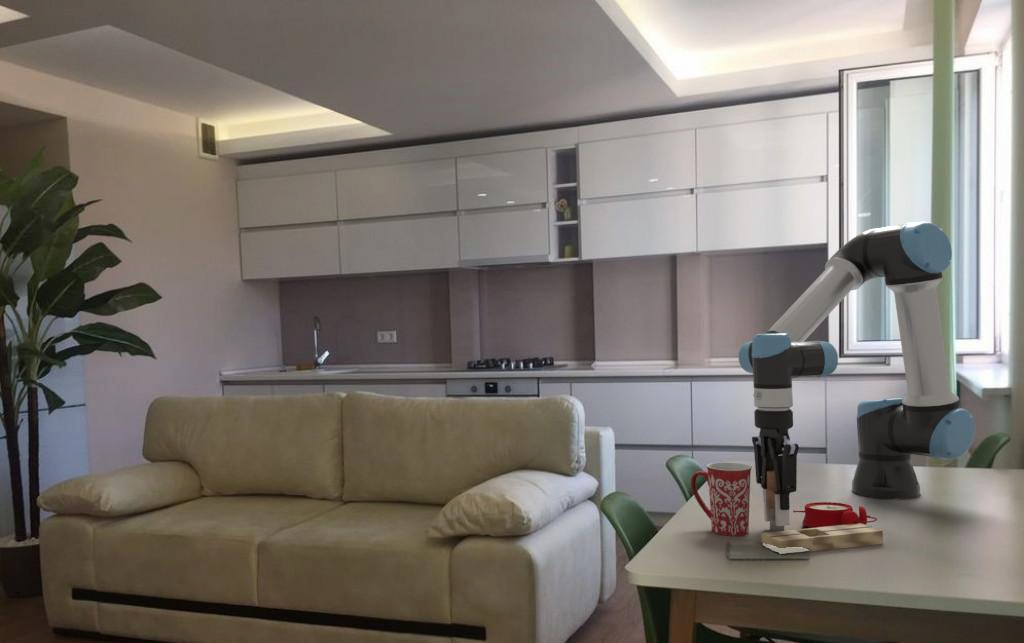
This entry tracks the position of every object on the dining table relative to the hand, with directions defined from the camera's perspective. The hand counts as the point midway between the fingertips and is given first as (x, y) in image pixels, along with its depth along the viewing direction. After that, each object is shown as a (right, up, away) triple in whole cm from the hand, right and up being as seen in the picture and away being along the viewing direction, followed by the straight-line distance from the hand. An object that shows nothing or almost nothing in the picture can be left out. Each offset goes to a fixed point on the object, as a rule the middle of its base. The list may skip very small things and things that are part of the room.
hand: (776, 522), depth 158 cm
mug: (-11, -2, +2) cm, 11 cm away
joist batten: (+5, -1, -11) cm, 12 cm away
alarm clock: (+12, -1, 0) cm, 12 cm away
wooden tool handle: (0, -2, 0) cm, 2 cm away
